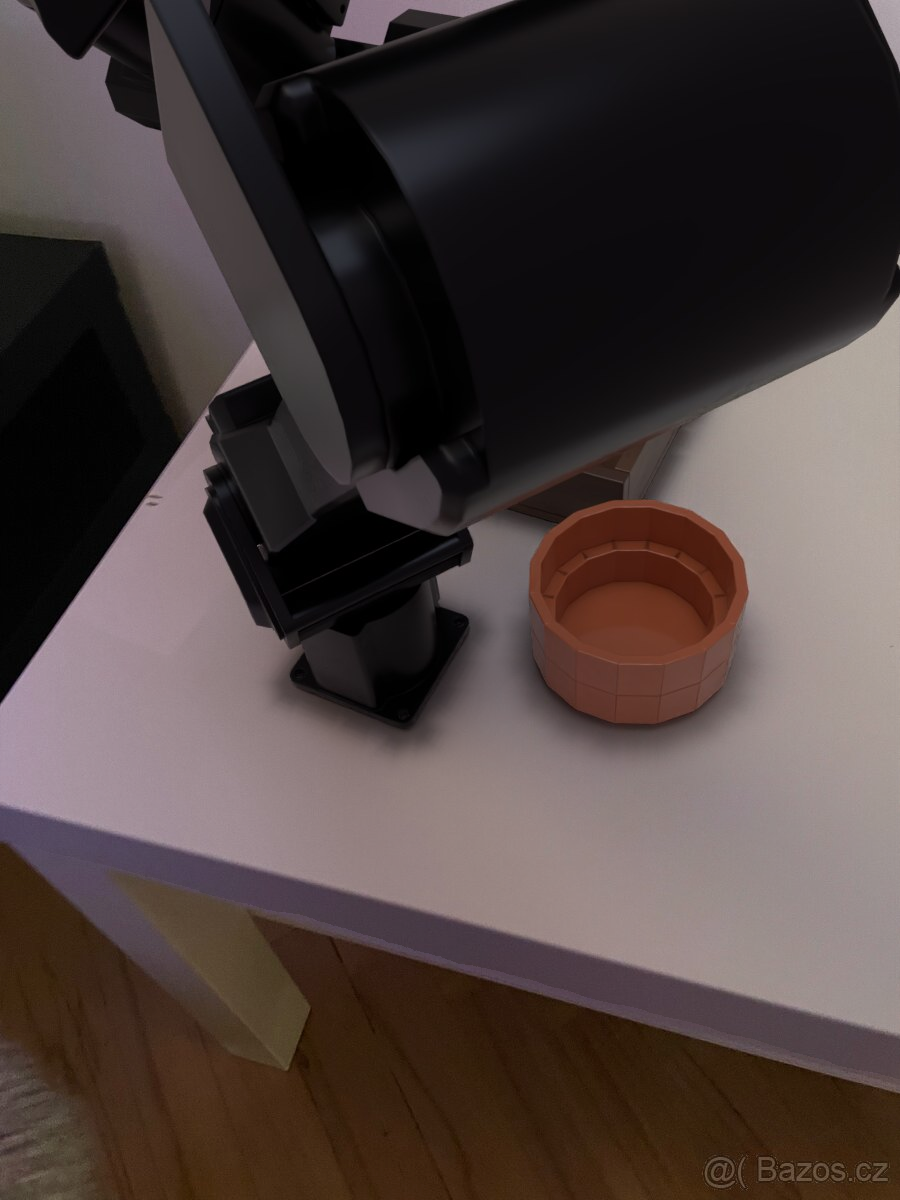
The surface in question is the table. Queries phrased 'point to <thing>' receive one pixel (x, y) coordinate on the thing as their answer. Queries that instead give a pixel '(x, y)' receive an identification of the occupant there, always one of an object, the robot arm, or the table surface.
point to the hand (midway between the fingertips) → (394, 152)
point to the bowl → (636, 610)
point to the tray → (601, 482)
